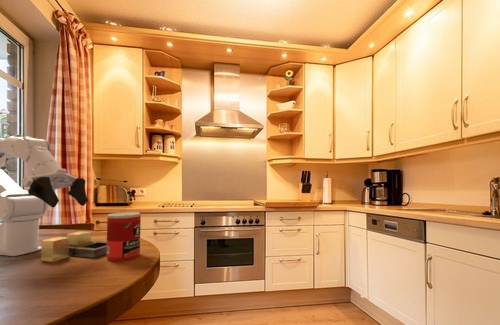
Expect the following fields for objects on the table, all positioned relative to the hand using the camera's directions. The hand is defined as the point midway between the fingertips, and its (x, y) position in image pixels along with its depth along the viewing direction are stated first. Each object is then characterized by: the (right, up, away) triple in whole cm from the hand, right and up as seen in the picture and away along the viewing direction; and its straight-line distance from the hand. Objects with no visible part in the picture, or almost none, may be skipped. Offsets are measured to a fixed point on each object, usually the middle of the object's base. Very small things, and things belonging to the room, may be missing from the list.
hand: (71, 203), depth 66 cm
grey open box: (+1, -14, +5) cm, 15 cm away
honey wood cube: (-4, -14, 0) cm, 15 cm away
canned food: (+13, -14, 0) cm, 19 cm away
